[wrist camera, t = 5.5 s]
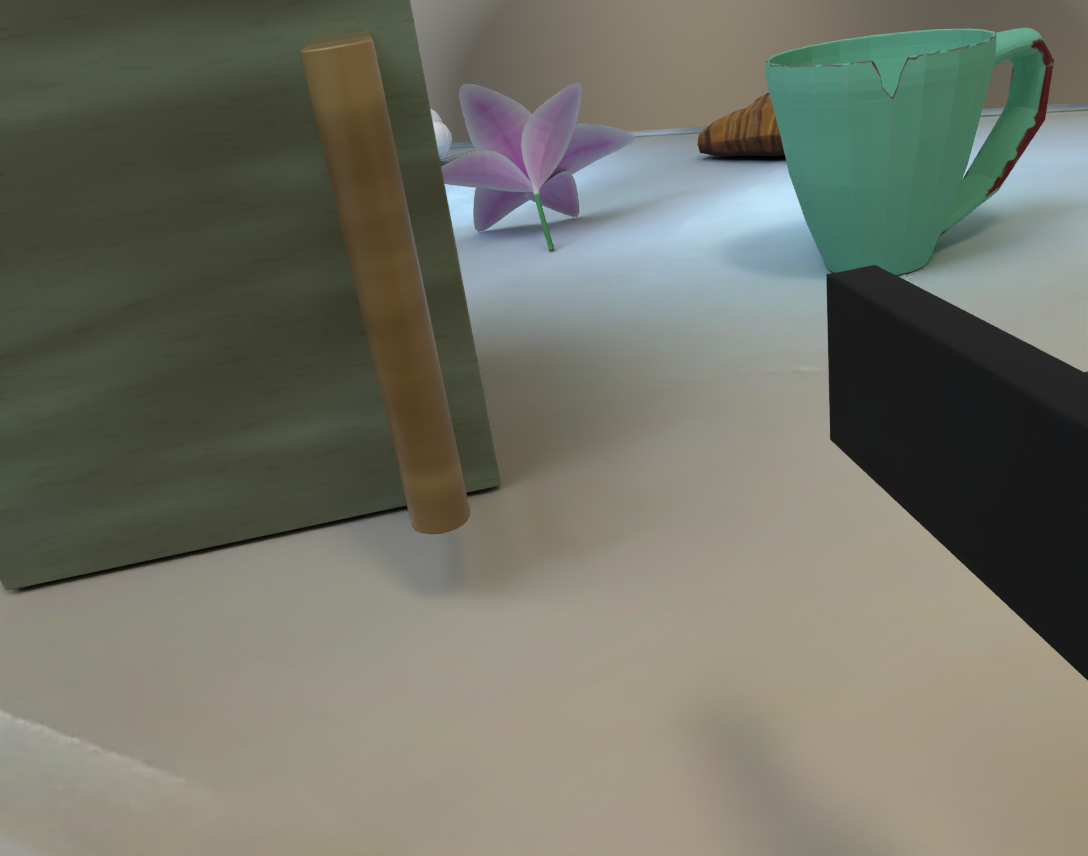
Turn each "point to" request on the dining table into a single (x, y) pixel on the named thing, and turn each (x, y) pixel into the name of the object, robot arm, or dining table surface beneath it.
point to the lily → (527, 153)
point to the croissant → (744, 132)
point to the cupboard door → (223, 281)
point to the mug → (901, 135)
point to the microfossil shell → (441, 134)
